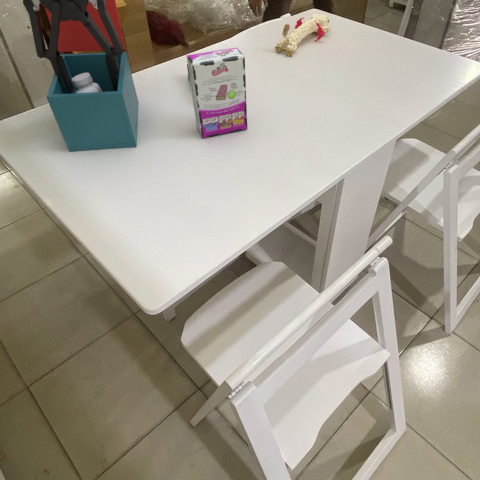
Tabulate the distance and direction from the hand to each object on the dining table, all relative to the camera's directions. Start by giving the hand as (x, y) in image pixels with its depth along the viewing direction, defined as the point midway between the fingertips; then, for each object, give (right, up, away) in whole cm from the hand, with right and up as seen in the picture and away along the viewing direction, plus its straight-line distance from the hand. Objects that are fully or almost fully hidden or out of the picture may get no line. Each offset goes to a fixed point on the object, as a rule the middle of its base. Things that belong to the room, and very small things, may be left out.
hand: (93, 89), depth 85 cm
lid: (-2, +17, -3) cm, 18 cm away
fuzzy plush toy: (+48, +35, +41) cm, 72 cm away
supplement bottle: (0, -4, +6) cm, 7 cm away
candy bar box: (+26, -5, +9) cm, 28 cm away
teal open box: (-1, -5, +8) cm, 9 cm away
